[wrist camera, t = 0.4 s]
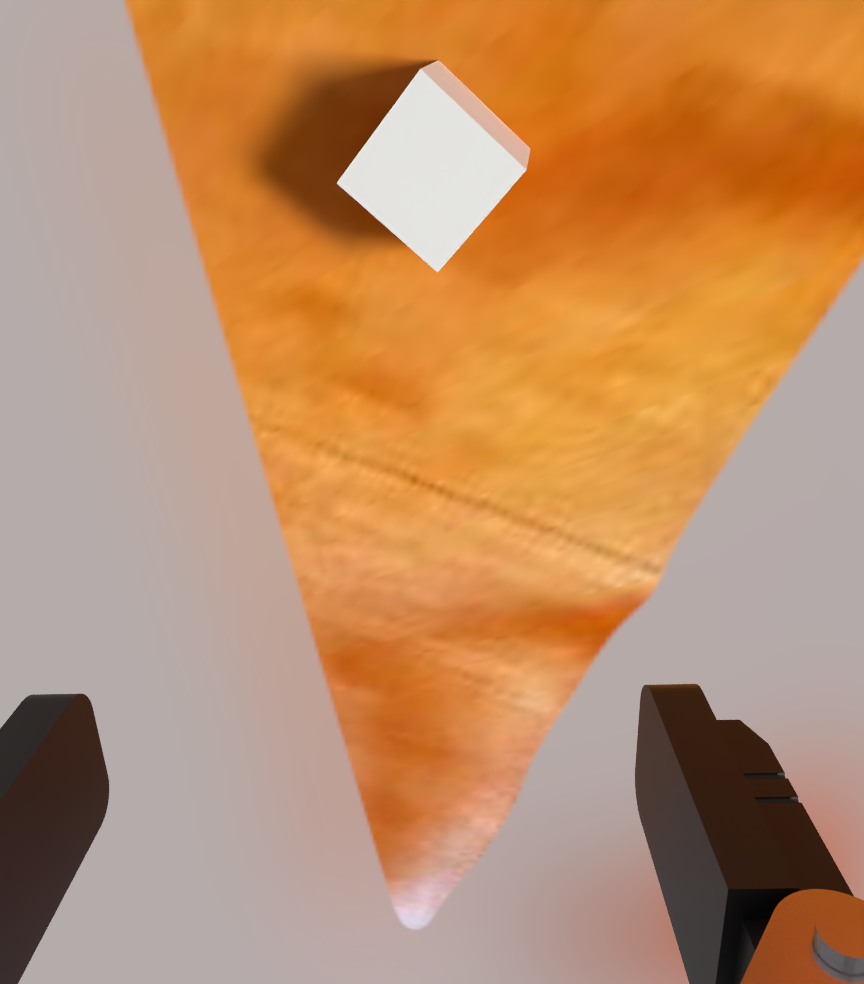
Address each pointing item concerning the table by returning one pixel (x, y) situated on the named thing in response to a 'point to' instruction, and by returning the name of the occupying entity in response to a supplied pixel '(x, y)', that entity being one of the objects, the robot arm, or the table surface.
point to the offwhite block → (435, 165)
